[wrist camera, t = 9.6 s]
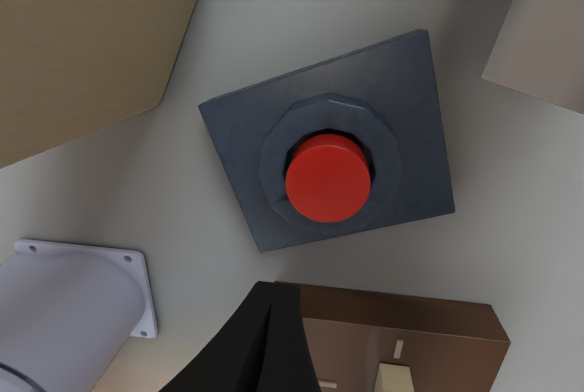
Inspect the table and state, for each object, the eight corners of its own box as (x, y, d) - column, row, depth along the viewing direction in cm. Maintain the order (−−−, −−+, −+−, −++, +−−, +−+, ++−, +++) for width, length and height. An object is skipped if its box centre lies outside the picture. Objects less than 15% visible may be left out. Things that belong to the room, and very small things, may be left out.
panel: (273, 387, 28) (265, 426, 25) (274, 280, 23) (265, 315, 21) (450, 411, 27) (463, 456, 24) (490, 304, 22) (513, 345, 19)
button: (303, 212, 17) (299, 230, 16) (280, 145, 16) (273, 158, 14) (375, 195, 16) (378, 213, 15) (357, 123, 15) (359, 134, 14)
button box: (265, 237, 22) (252, 272, 19) (208, 99, 19) (182, 113, 15) (446, 198, 19) (467, 231, 16) (419, 28, 16) (439, 28, 13)
